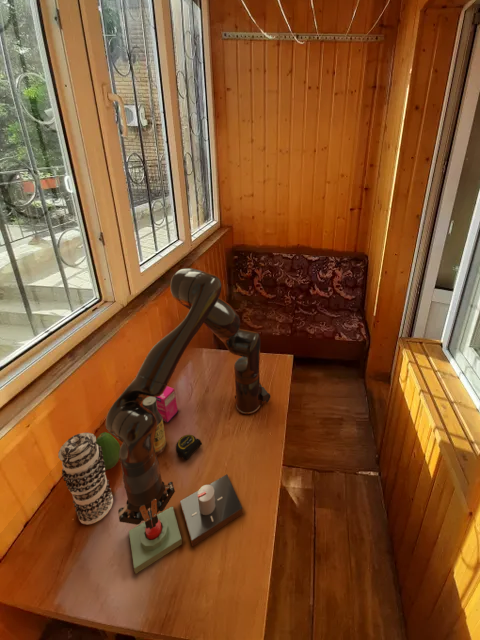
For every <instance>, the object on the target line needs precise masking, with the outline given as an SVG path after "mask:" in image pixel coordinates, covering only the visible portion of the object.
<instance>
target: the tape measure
mask: <svg viewBox="0 0 480 640" xmlns="http://www.w3.org/2000/svg"><path fill="white" fill-rule="evenodd" d="M202 445H203V442H202V441H201V440H200V438H197V437H195V436H194V435H192V434H185V435H183V436H181V437H180V438H179V439H178V440H177V442H176V444H175V451H176V455H177V456H178V457H179V458H181V459H182V460H183V461H187V460H189V459H190V458H191V456H192V455H194V453H195V452H196V451H197V450H199V448H200V447H201V446H202Z"/></svg>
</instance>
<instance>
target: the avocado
mask: <svg viewBox="0 0 480 640" xmlns="http://www.w3.org/2000/svg"><path fill="white" fill-rule="evenodd" d="M96 444H98V445H99V446H101V447H102V449H101V450H102V452H103V454H102V455H103V457H104V458H103V460H104V462H105V463H104V465H105V470H106V471H108V470H111V469H113V468H114V467H116V465H117V464H118V463H119V462H120V458H119V450H120V447H121V445H120V443H119V441H118V440H117V439H116V437H115V436H114V435H112V434H111V433H109V432H108V431H104V432H102V433H100V434H99V435H98V436H97V437H96ZM99 454H100V453H99Z"/></svg>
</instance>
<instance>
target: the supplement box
mask: <svg viewBox="0 0 480 640" xmlns="http://www.w3.org/2000/svg"><path fill="white" fill-rule="evenodd" d="M155 398H156V401H157V403H156V405H157V410H158V411H159V413H160V414H161V416H162V417H163V422H165V423H167V424H168V423H169V422H170V421H171V420H172V419H173V417H175V416H176V414H178V412H179V409H178V404H177V396H176V391H175V388H173V387H170V386H168V385H167V387H166V389H165V391H164V392H163V394H162V395H161V396H158V397H155Z"/></svg>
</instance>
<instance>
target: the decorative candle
mask: <svg viewBox="0 0 480 640" xmlns="http://www.w3.org/2000/svg"><path fill="white" fill-rule="evenodd" d="M96 439H97V437H96V435H95V434H93V433H92V432H80V433H76V434H73V435H72V436H71V437H69V438H68V439H67V440H66V441H65V442H64V443H63V444H62V445H61V446H60V448H59V451H58V452H57V453H58V455H57V457H58V459H59V460H60V461H61V466H62V469H61V475H62V478H63V481H64V482H65V486H66V487H67V490H68V491H69V492H70V494H71V495H72V499H73V500H72V504H74V505H73V507H74V508H75V509H74V510H75V513H76V516H77V517H78V521H79V522H80V523H81V524H83V525H92V524H95V523H97V522H99V521H101V520H102V519H103V518H104V517H105V516H106V515H108V513H109V512H110V510H111V509H112V507H113V503H114V497H113V492H112V488H111V485H110V480H109V479H108V478H107V475H106V471H107V470H105V465H104V463H105V462H104V460H103V458H104V457H103V455H102V454H103V452H102V450H101V449H102V447H101V446H99V445H98V444H96ZM99 453H100V454H99Z"/></svg>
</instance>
